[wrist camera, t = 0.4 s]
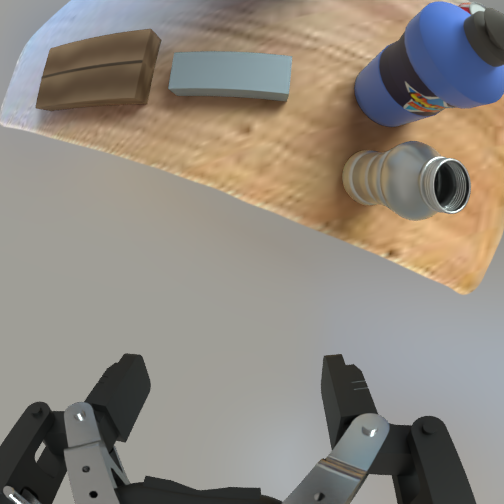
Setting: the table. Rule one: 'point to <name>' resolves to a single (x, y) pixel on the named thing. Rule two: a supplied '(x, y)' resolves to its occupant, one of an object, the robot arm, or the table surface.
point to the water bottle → (435, 66)
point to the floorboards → (100, 71)
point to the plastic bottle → (408, 180)
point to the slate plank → (231, 75)
